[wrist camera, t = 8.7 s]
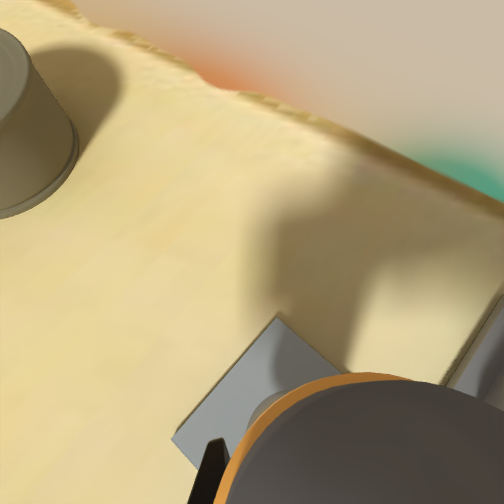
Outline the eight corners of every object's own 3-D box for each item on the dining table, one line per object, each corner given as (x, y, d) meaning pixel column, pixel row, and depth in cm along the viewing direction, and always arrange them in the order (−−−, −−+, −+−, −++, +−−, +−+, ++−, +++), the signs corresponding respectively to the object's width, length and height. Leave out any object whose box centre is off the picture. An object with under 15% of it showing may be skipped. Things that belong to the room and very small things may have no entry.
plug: (334, 522, 14) (820, 1331, 2) (227, 483, 14) (89, 916, 2) (353, 404, 16) (672, 440, 4) (258, 373, 16) (262, 318, 4)
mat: (298, 578, 16) (299, 584, 16) (172, 438, 19) (170, 439, 18) (397, 424, 19) (401, 425, 18) (276, 318, 21) (276, 316, 21)
